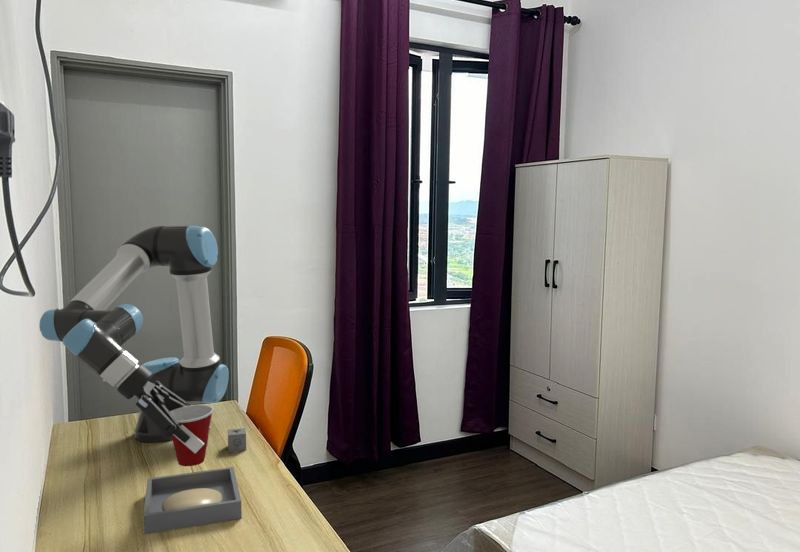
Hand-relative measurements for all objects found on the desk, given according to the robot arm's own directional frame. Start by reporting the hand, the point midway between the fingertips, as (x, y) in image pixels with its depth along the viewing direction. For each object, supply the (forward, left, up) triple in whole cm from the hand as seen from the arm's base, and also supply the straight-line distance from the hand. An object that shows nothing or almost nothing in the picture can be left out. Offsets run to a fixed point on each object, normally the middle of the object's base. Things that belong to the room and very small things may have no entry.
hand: (203, 439), depth 140 cm
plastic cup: (-1, -3, -5) cm, 6 cm away
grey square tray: (-1, -3, -16) cm, 16 cm away
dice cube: (-34, +10, -16) cm, 39 cm away
